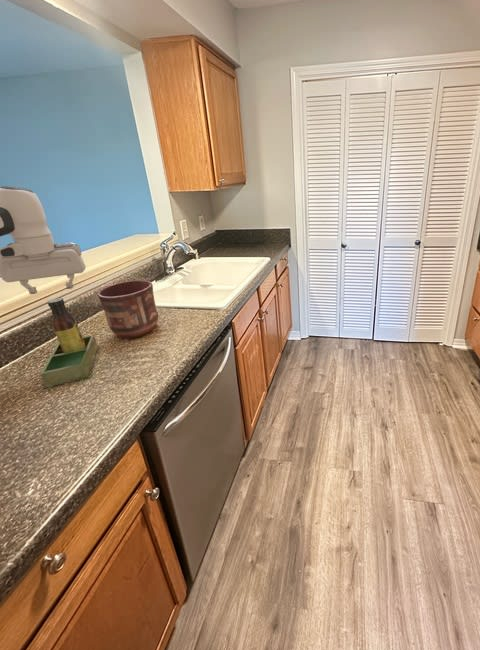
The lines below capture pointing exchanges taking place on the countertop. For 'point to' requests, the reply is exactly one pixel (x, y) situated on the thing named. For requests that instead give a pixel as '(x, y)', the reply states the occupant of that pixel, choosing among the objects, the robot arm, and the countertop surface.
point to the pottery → (130, 308)
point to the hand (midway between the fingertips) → (52, 290)
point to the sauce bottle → (65, 327)
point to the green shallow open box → (69, 364)
